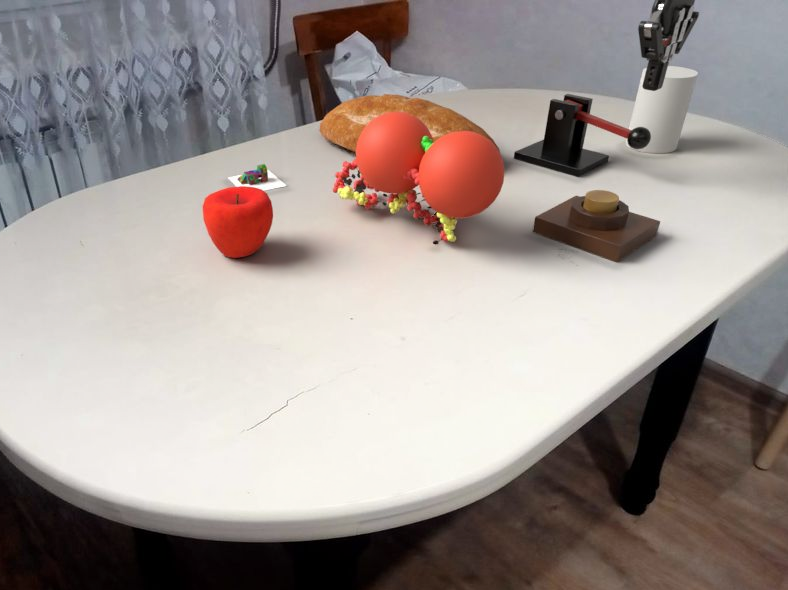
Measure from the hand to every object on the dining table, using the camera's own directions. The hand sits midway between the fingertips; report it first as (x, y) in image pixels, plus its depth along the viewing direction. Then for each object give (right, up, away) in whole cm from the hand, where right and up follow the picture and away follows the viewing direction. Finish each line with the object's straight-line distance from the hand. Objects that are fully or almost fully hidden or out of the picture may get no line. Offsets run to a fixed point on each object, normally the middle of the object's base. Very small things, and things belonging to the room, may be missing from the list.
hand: (651, 88), depth 93 cm
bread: (-33, -2, +21) cm, 39 cm away
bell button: (-11, -19, -9) cm, 24 cm away
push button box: (-11, -22, -7) cm, 26 cm away
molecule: (-35, -20, -3) cm, 40 cm away
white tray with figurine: (-57, -10, +12) cm, 59 cm away
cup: (+10, -2, +20) cm, 22 cm away
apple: (-57, -25, -8) cm, 63 cm away
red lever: (-4, -4, +8) cm, 10 cm away
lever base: (-8, -6, +15) cm, 18 cm away
